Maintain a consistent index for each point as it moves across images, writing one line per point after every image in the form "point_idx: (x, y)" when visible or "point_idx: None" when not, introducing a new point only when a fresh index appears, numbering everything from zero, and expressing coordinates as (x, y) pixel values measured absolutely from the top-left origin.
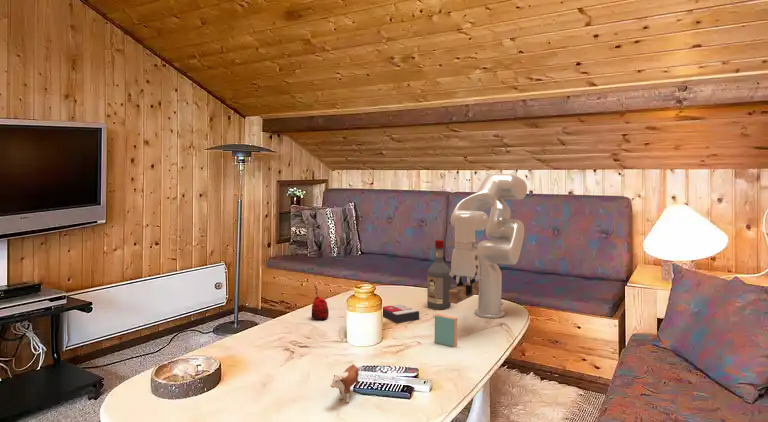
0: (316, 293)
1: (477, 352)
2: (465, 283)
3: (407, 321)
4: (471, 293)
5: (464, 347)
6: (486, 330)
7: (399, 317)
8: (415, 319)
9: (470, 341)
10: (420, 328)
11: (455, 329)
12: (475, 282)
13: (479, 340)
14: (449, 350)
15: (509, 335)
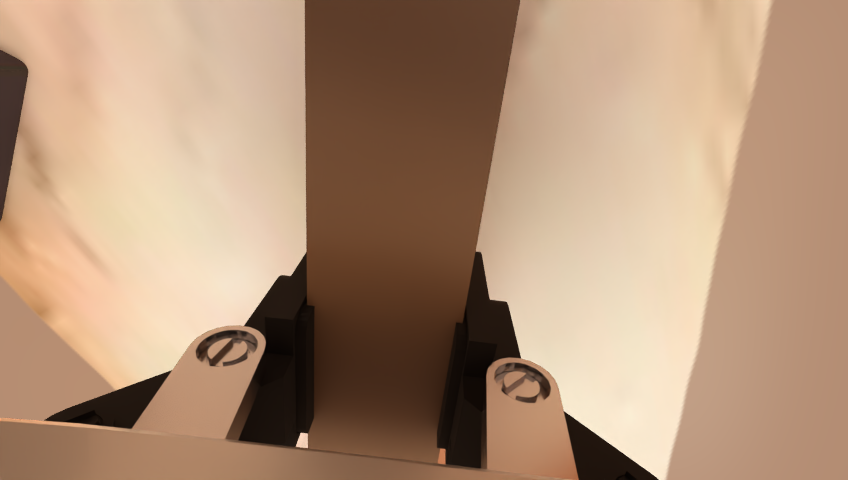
0: None
1: (586, 407)
2: (317, 234)
3: (11, 157)
4: (480, 255)
5: None
6: (547, 53)
7: None
8: (17, 99)
9: (512, 298)
10: (169, 237)
11: None
12: (488, 32)
13: (554, 262)
14: None
15: (724, 78)
